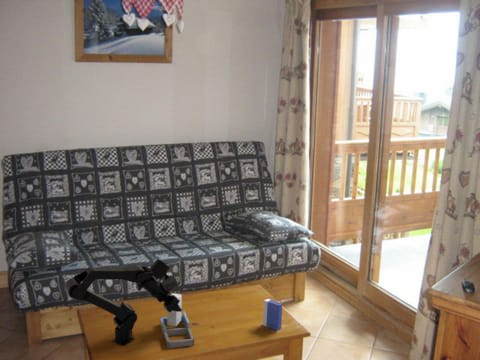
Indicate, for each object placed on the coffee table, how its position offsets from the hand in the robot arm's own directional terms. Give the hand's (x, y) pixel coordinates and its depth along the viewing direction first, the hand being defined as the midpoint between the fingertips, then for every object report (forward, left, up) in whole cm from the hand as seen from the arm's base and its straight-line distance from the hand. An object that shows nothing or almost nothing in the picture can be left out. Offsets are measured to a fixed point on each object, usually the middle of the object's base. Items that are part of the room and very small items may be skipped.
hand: (177, 307), depth 246 cm
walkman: (+26, -31, -10) cm, 42 cm away
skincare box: (-1, +1, -7) cm, 7 cm away
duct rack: (-4, -3, -10) cm, 11 cm away
